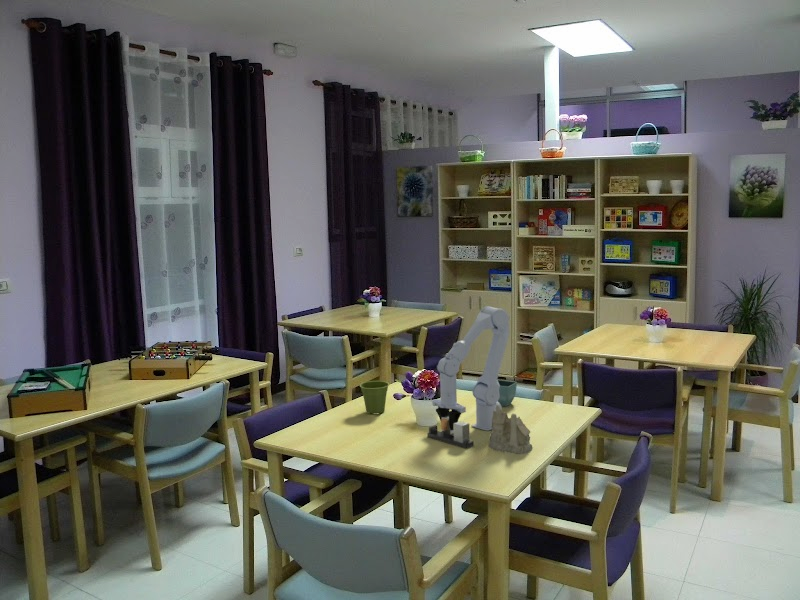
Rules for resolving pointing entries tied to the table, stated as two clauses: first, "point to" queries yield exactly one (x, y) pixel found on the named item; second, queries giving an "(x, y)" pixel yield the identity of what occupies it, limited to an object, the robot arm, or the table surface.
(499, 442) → the ceramic cottage
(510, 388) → the flower pot
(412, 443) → the table surface
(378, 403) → the plant pot
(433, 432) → the rail
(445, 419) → the grey and orange block
